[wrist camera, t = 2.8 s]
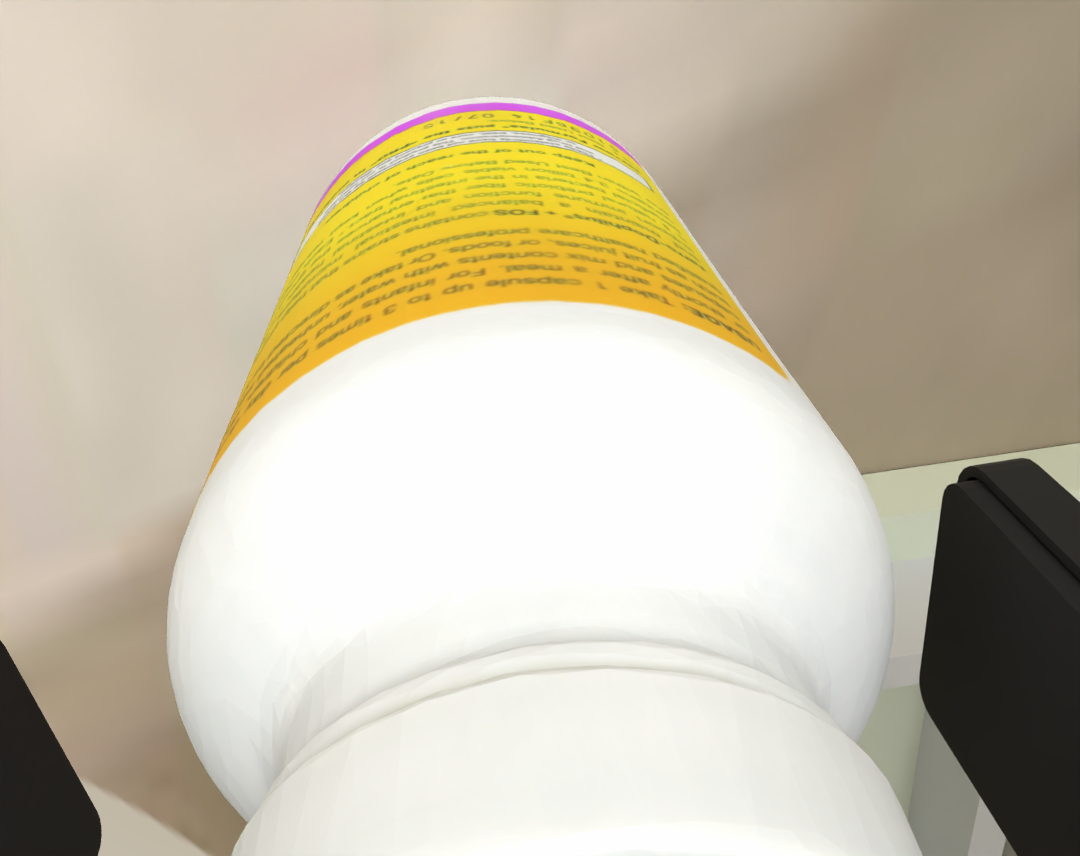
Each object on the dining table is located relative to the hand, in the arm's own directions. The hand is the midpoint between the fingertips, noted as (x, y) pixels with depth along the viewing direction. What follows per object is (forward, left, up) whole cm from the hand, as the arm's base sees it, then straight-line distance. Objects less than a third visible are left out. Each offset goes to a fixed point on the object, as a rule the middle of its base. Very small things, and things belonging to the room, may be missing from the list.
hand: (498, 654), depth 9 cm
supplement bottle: (0, -1, -9) cm, 9 cm away
